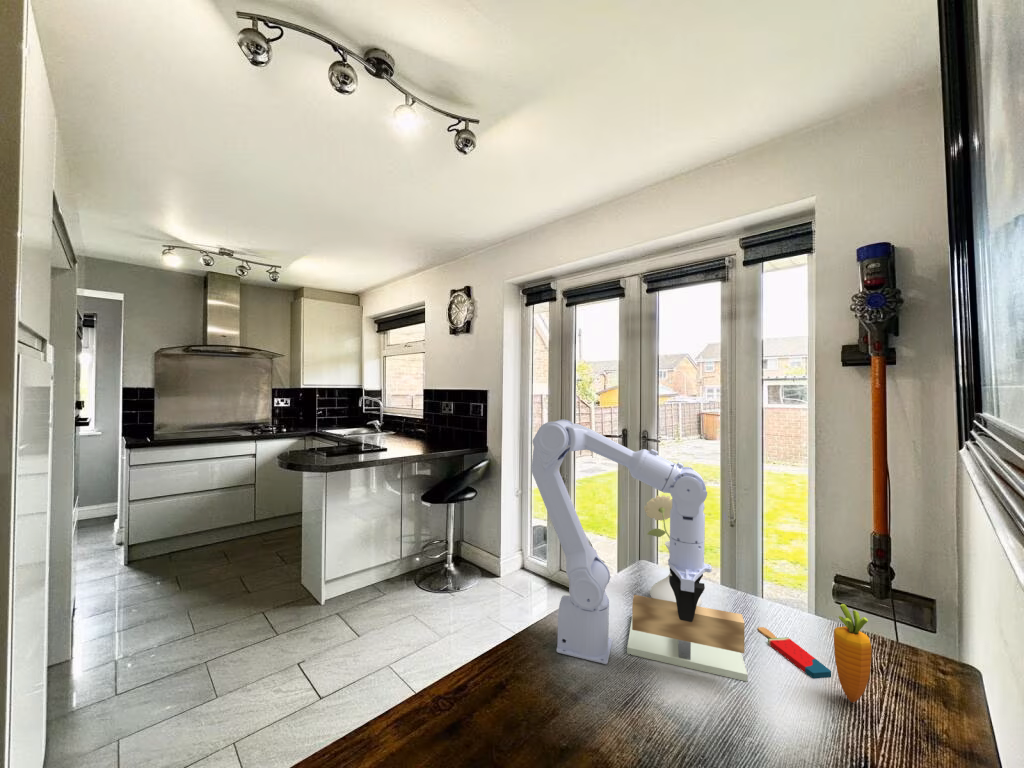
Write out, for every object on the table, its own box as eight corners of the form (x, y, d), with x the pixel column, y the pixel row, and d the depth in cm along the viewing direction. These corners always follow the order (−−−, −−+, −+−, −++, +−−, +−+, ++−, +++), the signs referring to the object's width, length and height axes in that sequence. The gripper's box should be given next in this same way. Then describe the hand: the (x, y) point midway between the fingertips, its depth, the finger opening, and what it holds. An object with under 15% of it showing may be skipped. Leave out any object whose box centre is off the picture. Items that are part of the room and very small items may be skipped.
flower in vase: (701, 598, 101) (703, 494, 101) (701, 621, 91) (703, 505, 91) (645, 586, 106) (646, 488, 107) (639, 607, 96) (641, 498, 96)
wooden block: (632, 629, 76) (632, 601, 76) (633, 621, 79) (633, 594, 79) (744, 653, 70) (744, 623, 70) (741, 643, 72) (741, 614, 72)
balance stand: (627, 653, 79) (627, 631, 79) (632, 616, 92) (633, 597, 92) (747, 681, 72) (747, 656, 72) (735, 637, 85) (735, 616, 85)
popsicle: (770, 624, 88) (834, 671, 74) (770, 631, 88) (833, 679, 74) (750, 625, 88) (810, 673, 73) (750, 632, 88) (810, 681, 73)
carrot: (879, 716, 65) (880, 618, 65) (843, 710, 66) (843, 614, 66) (859, 693, 69) (860, 602, 70) (826, 688, 70) (826, 599, 71)
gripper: (715, 556, 66) (714, 642, 66) (708, 529, 80) (707, 600, 80) (667, 549, 69) (666, 632, 69) (669, 523, 82) (667, 593, 82)
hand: (685, 615), depth 74 cm, fingers closed on wooden block, 3 cm apart
